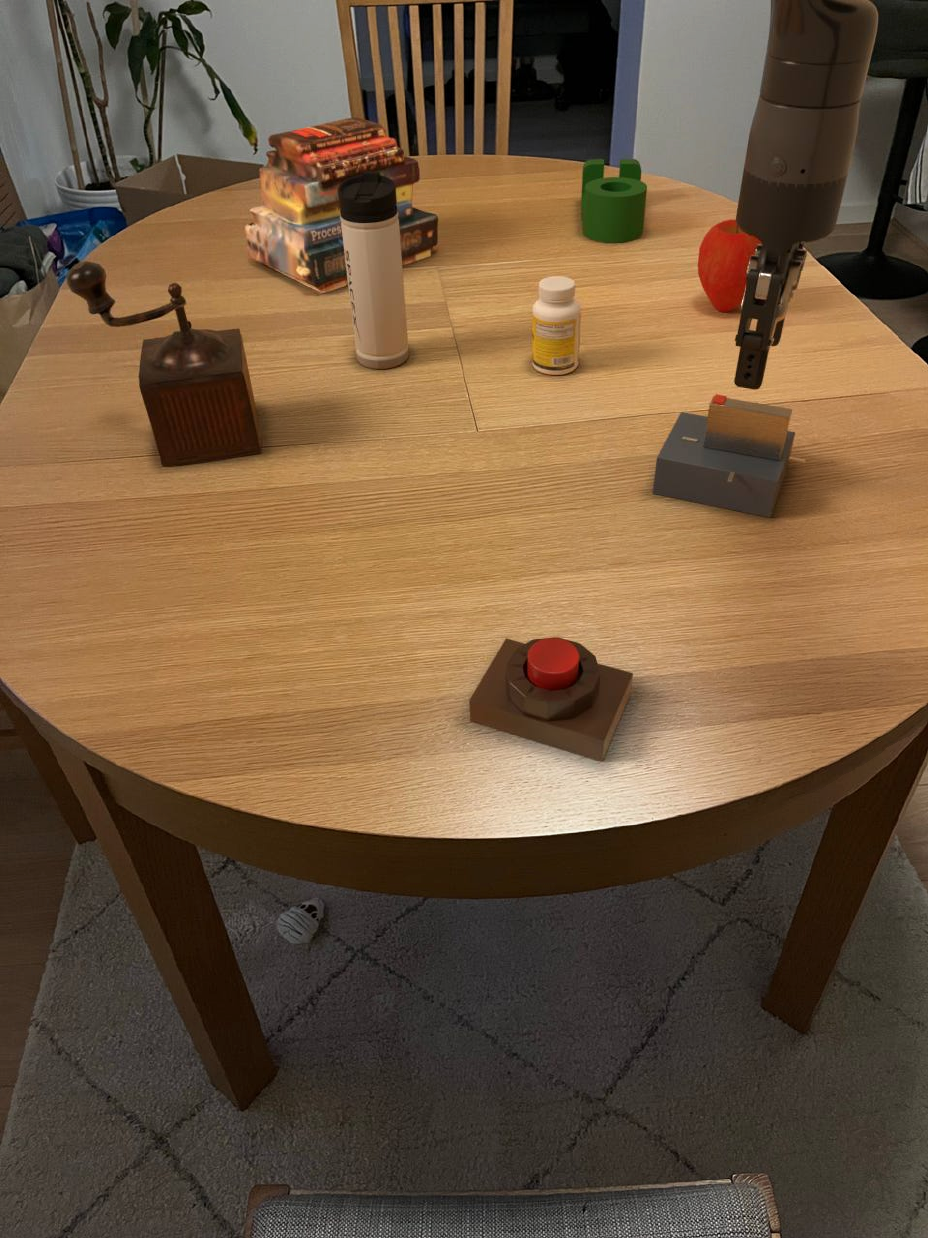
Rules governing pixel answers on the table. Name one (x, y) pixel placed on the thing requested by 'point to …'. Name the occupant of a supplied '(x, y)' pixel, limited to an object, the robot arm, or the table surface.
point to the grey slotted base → (718, 471)
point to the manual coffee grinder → (185, 379)
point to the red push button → (553, 664)
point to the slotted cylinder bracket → (613, 202)
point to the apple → (725, 264)
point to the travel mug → (374, 269)
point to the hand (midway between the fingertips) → (757, 364)
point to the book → (329, 200)
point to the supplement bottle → (556, 327)
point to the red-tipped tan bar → (746, 427)
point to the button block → (552, 702)
